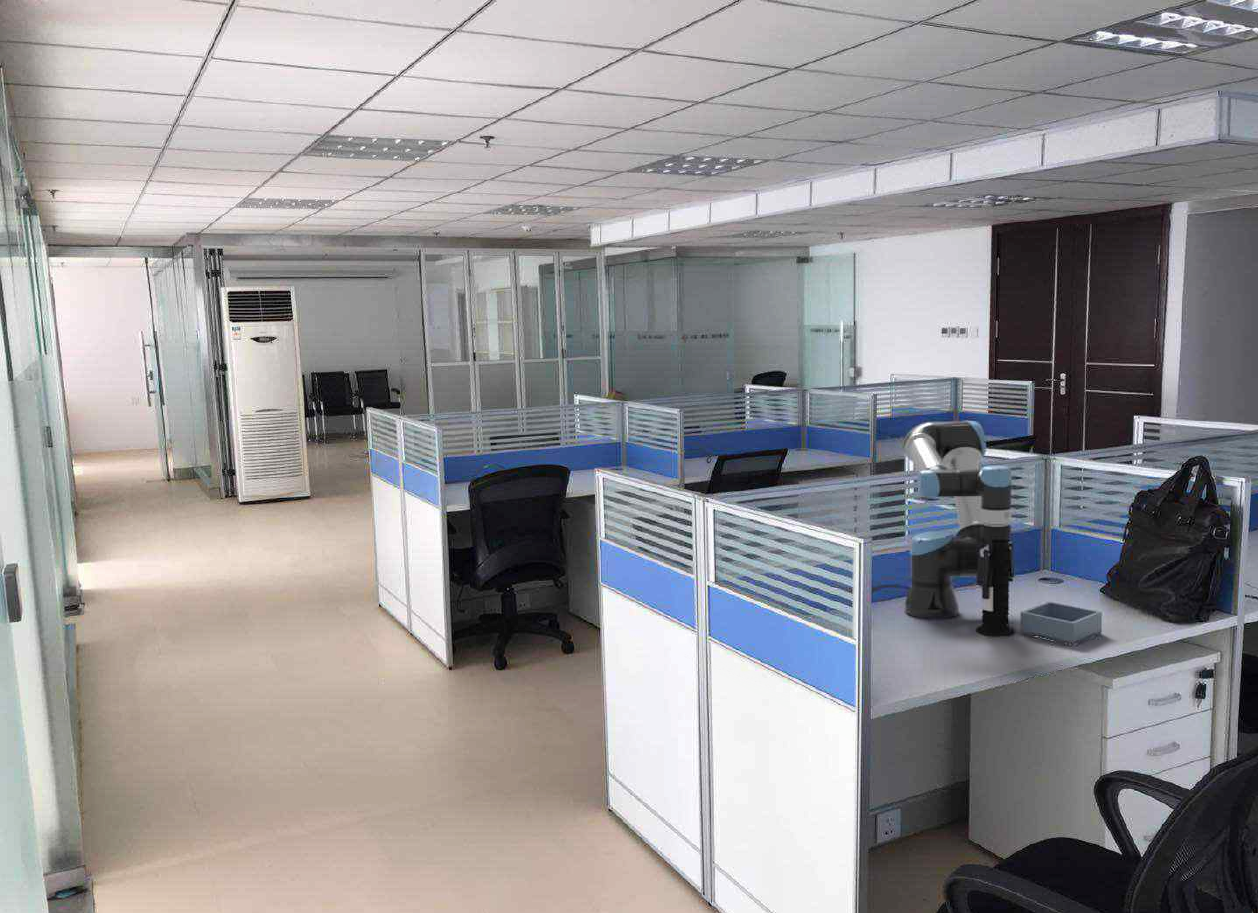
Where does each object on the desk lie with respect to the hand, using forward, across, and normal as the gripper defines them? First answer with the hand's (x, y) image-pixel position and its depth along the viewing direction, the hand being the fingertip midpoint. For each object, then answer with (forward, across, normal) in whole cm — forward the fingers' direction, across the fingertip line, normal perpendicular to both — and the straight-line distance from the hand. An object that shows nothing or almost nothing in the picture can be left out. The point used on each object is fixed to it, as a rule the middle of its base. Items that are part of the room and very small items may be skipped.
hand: (995, 607), depth 262 cm
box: (+7, +10, -13) cm, 18 cm away
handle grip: (+7, 0, 0) cm, 7 cm away
